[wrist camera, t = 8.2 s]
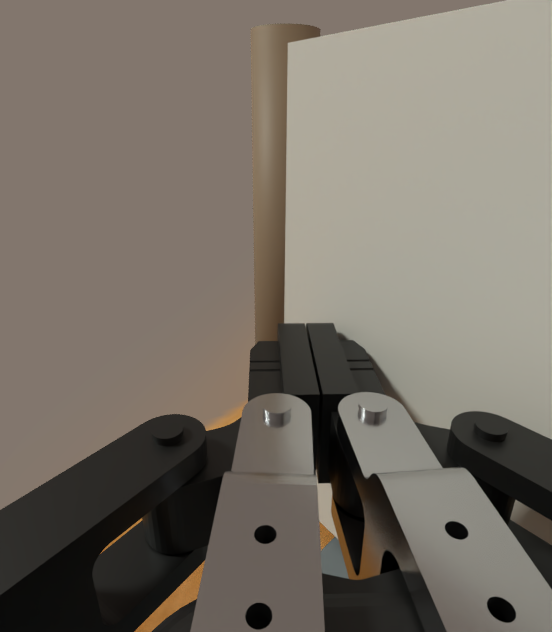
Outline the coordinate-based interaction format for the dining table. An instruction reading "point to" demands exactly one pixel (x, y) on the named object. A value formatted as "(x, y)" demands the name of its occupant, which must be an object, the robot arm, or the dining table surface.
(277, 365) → the robot arm
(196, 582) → the dining table surface
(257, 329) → the fence panel
